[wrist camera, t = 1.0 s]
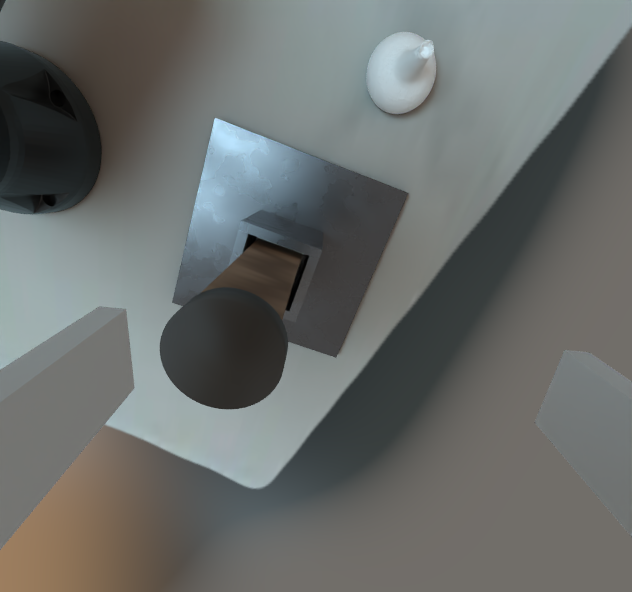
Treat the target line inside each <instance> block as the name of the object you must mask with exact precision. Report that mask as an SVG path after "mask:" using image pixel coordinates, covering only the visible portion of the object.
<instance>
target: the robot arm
mask: <svg viewBox="0 0 632 592" xmlns="http://www.w3.org/2000/svg"><path fill="white" fill-rule="evenodd" d="M5 1H6V0H0V11H1V9H2V7H3V5H4V3H5ZM100 163H101V143H100V136H99V131H98V127H97V124H96V121H95V118H94V116H93V113H92V111H91V109H90V107H89V105H88V103H87V101H86V100H85V98H84V97H83V95H82V94H81V92H80V91H79V89H78V88H77V87H76V85H75V84H74V83H73V82H72V81H71V80H70V79H69V78H68V77H67V76H66V75H65V74H64V73H63V72H62V71H61V70H60V69H59V68H57V67H56V66H55V65H54V64H52V63H51V62H49V61H48V60H46V59H44V58H43V57H41V56H39V55H37V54H35V53H32V52H30V51H28V50H25V49H23V48H20V47H18V46H15V45H13V44H10V43H7V42H3V41H0V209H1V210H5V211H9V212H14V213H20V214H43V213H50V212H57V211H62V210H65V209H68V208H70V207H72V206H74V205H75V204H77V203H78V202H80V201H81V200H82V199H83V198H84V197H85V196H86V195H87V194H88V193H89V191H90V190H91V188H92V187H93V185H94V183H95V181H96V179H97V176H98V173H99V169H100ZM133 389H134V379H133V370H132V361H131V351H130V342H129V333H128V323H127V314H126V309H119V308H109V307H98V308H96V309H95V310H93V311H92V312H90V313H89V314H87V315H85V316H84V317H82V318H81V319H79V320H78V321H76V322H74V323H73V324H71V325H70V326H68V327H67V328H65V329H63V330H62V331H60V332H59V333H57V334H56V335H54V336H53V337H51V338H49V339H48V340H46V341H45V342H43V343H42V344H40V345H38V346H37V347H35V348H34V349H32V350H31V351H29V352H28V353H26V354H24V355H23V356H21V357H20V358H18V359H17V360H15V361H13V362H12V363H10V364H9V365H7V366H6V367H4V368H3V369H1V370H0V550H1V548H2V547H3V546H4V545H5V544H6V542H7V541H8V540H9V539H10V538H11V536H12V535H13V534H14V533H15V531H16V530H17V529H18V528H19V526H20V525H21V524H22V523H23V522H24V521H25V519H26V518H27V517H28V516H29V515H30V513H31V512H32V511H33V510H34V508H35V507H36V506H37V505H38V504H39V503H40V501H41V500H42V499H43V497H45V495H46V494H47V493H48V492H49V491H50V489H51V488H52V487H53V486H54V484H55V483H56V482H57V481H58V480H59V478H60V477H61V476H62V475H63V474H64V472H65V471H66V470H67V469H68V468H69V466H70V465H71V464H72V463H73V462H74V460H75V459H76V458H77V457H78V455H79V454H80V453H81V452H82V451H83V450H84V448H85V447H86V446H87V445H88V443H89V442H90V441H91V440H92V439H93V437H94V436H95V435H96V434H97V433H98V431H99V430H100V429H101V428H102V426H103V425H104V424H105V423H106V422H107V421H108V419H109V418H110V417H111V416H112V415H113V413H114V412H115V411H116V410H117V409H118V407H119V406H120V405H121V404H122V402H123V401H124V400H125V399H126V398H127V396H128V395H129V394H130V393H131V392H132V390H133ZM535 424H536V425H537V426H538V427H539V428H540V429H541V431H542V432H543V433H544V434H545V435H546V437H547V438H548V439H549V440H550V441H551V442H552V444H553V445H554V446H555V447H556V448H557V449H558V451H559V452H560V453H561V454H562V455H563V457H564V458H565V459H566V460H567V461H568V462H569V464H570V465H571V466H572V467H573V468H574V470H575V471H576V472H577V473H578V474H579V475H580V477H581V478H582V479H583V480H584V481H585V482H586V484H587V485H588V486H589V487H590V489H591V490H592V491H593V492H594V493H595V494H596V495H597V496H598V498H599V499H600V500H601V501H602V503H603V504H604V505H605V506H606V507H607V508H608V510H609V511H610V512H611V513H612V514H613V516H614V517H615V518H616V519H617V520H618V522H619V523H620V524H621V525H622V526H623V527H624V528H625V530H626V531H627V532H628V533H629V535H630V536H631V537H632V381H630V380H629V379H627V378H626V377H624V376H623V375H622V374H620V373H619V372H617V371H616V370H614V369H613V368H611V367H610V366H608V365H607V364H605V363H604V362H602V361H601V360H600V359H598V358H597V357H595V356H594V355H592V354H591V353H589V352H581V351H570V350H564V353H563V355H562V357H561V360H560V362H559V365H558V367H557V369H556V372H555V374H554V377H553V379H552V382H551V384H550V387H549V389H548V391H547V394H546V397H545V399H544V401H543V403H542V406H541V408H540V411H539V413H538V416H537V418H536V420H535Z"/></svg>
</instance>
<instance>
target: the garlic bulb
mask: <svg viewBox="0 0 632 592" xmlns="http://www.w3.org/2000/svg"><path fill="white" fill-rule="evenodd" d="M429 42H431V43H429ZM432 43H433V42H432V41H430V40H425V39H423V38H422V37H421V36H419V35H417V34H414V33H411V32H398V33H395V34H392V35H390V36H388V37H387V38H385V39H384V40H383V41H382V42H381V43H380V44H379V45H378V46H377V47H376V48H375V50H374V51H373V53H372V55H371V57H370V59H369V63H368V66H367V72H366V84H367V88H368V92H369V94H370V96H371V98H372V100H373V101H374V103H375V104H376V105H377V106H378V107H379V108H380V109H382V110H383V111H385V112H388V113H391V114H402V113H406V112H409V111H411V110H413V109H415V108H416V107H418V106H419V105H420V104H421V103H422V102H423V101H424V100H425V99H426V97H427V96H428V94H429V93H430V91H431V89H432V87H433V84H434V81H435V76H436V60H435V55H434V46H433V45H434V44H433V45H432Z"/></svg>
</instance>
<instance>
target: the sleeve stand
mask: <svg viewBox="0 0 632 592" xmlns="http://www.w3.org/2000/svg"><path fill="white" fill-rule="evenodd" d="M407 195H408V193H406V192H404V191H401V190H399V189H396V188H394V187H391V186H388V185H386V184H383V183H381V182H378V181H376V180H373V179H371V178H368V177H365V176H363V175H360V174H358V173H355V172H353V171H350V170H347V169H345V168H342V167H340V166H337V165H335V164H332V163H330V162H327V161H324V160H322V159H319V158H317V157H314V156H312V155H309V154H307V153H304V152H301V151H299V150H296V149H294V148H291V147H289V146H286V145H283V144H281V143H278V142H276V141H273V140H271V139H268V138H266V137H263V136H260V135H258V134H255V133H253V132H250V131H248V130H245V129H242V128H240V127H237V126H235V125H232V124H230V123H227V122H225V121H222V120H219V119H217V118H215V120H214V124H213V129H212V133H211V137H210V142H209V146H208V150H207V155H206V159H205V163H204V168H203V172H202V176H201V180H200V185H199V189H198V193H197V198H196V202H195V206H194V211H193V215H192V219H191V224H190V228H189V232H188V237H187V241H186V245H185V250H184V254H183V258H182V263H181V267H180V271H179V275H178V280H177V284H176V288H175V293H174V297H173V301H172V303H175V304H178V305H181V306H184V305H185V304H186V303H187V302H188V301H190V300H191V299H192V298H193V297H195V296H196V295H198V294H200V293H201V292H202V291H203V290H204V289H205V288H206V287H207V286H208V285H209V284H210V283H211V282H213V281H214V280H215V279H216V278H217V277H218V276H219V275H220V274H221V273H222V272H223V271H224V270H225V269H226V268H227V267H228V266H230V265H231V264H232V263H233V262H234V261H235V260H236V259H237V258H238V257H239V256H240V255H241V254H242V253H243V252H244V251H245V250H247V249H248V248H249V247H250V246H251V245H252V244H253V243H254V242H255V241H256V240H257V237H259V238H262V239H265V240H267V241H270V242H273V243H276V244H278V245H281V246H284V247H287V248H289V249H292V250H295V251H298V252H300V253H303V254H304V255H303V258H302V261H301V264H300V267H299V269H298V272H297V275H296V278H295V281H294V283H293V286H292V289H291V293H290V296H289V299H288V302H287V306H286V309H285V312H284V316H283V319H282V321H283V323H284V326H285V329H286V332H287V337H288V342H291V343H294V344H297V345H300V346H303V347H306V348H309V349H312V350H315V351H318V352H321V353H324V354H327V355H330V356H333V357H337V354H338V352H339V350H340V348H341V345H342V343H343V341H344V338H345V336H346V334H347V332H348V329H349V327H350V325H351V322H352V320H353V318H354V316H355V313H356V311H357V309H358V306H359V304H360V302H361V300H362V297H363V295H364V293H365V290H366V288H367V286H368V284H369V281H370V279H371V277H372V274H373V272H374V270H375V268H376V265H377V263H378V261H379V258H380V256H381V254H382V252H383V249H384V247H385V245H386V243H387V240H388V238H389V236H390V233H391V231H392V229H393V227H394V224H395V222H396V220H397V217H398V215H399V213H400V211H401V208H402V206H403V204H404V201H405V199H406V197H407Z"/></svg>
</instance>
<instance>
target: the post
mask: <svg viewBox="0 0 632 592" xmlns="http://www.w3.org/2000/svg"><path fill="white" fill-rule="evenodd" d="M303 255H304V254H303V253H300V252H298V251H295V250H292V249H289V248H287V247H284V246H281V245H278V244H276V243H273V242H270V241H267V240H265V239H262V238H259V237H257V240H256V241H255V242H254V243H253V244H252V245H251V246H250V247H249V248H248V249H247V250H245V251H244V252H243V253H242V254H241V255H240V256H239V257H238V258H237V259H236V260H235V261H234V262H233V263H232V264H231V265H230V266H228V267H227V268H226V269H225V270H224V271H223V272H222V273H221V274H220V275H219V276H218V277H217V278H216V279H215V280H214V281H213V282H211V283H210V284H209V285H208V286H207V287H206V288H205V289H204V290H203V291H202V292H201V293H200V294H198V295H196V296H195V297H193V298H192V299H191V300H190V301H188V302H187V303H186V304H185V305H184V306H183V307H182V308H181V309H180V310H179V311H178V312H176V313H175V314H174V315H173V317H172V318H171V319H170V320H169V321H168V323H167V324H166V326H165V328H164V330H163V333H162V336H161V341H160V356H161V361H162V364H163V367H164V369H165V371H166V374H167V375H168V377H169V378H170V380H171V381H172V382H173V384H174V385H175V386H176V387H177V388H178V389H179V390H180V391H181V392H182V393H184V394H185V395H186V396H188V397H189V398H191V399H192V400H194V401H196V402H198V403H200V404H203V405H206V406H209V407H213V408H219V409H239V408H244V407H248V406H251V405H253V404H256V403H258V402H260V401H261V400H263V399H264V398H266V397H267V396H268V395H269V394H270V393H271V392H272V391H273V390H274V389H275V387H276V386H277V384H278V383H279V380H280V378H281V376H282V372H283V369H284V364H285V360H286V355H287V349H288V337H287V332H286V329H285V326H284V323H283V321H282V319H283V316H284V312H285V309H286V306H287V302H288V299H289V296H290V293H291V289H292V286H293V283H294V281H295V278H296V275H297V272H298V269H299V267H300V264H301V261H302V258H303Z"/></svg>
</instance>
